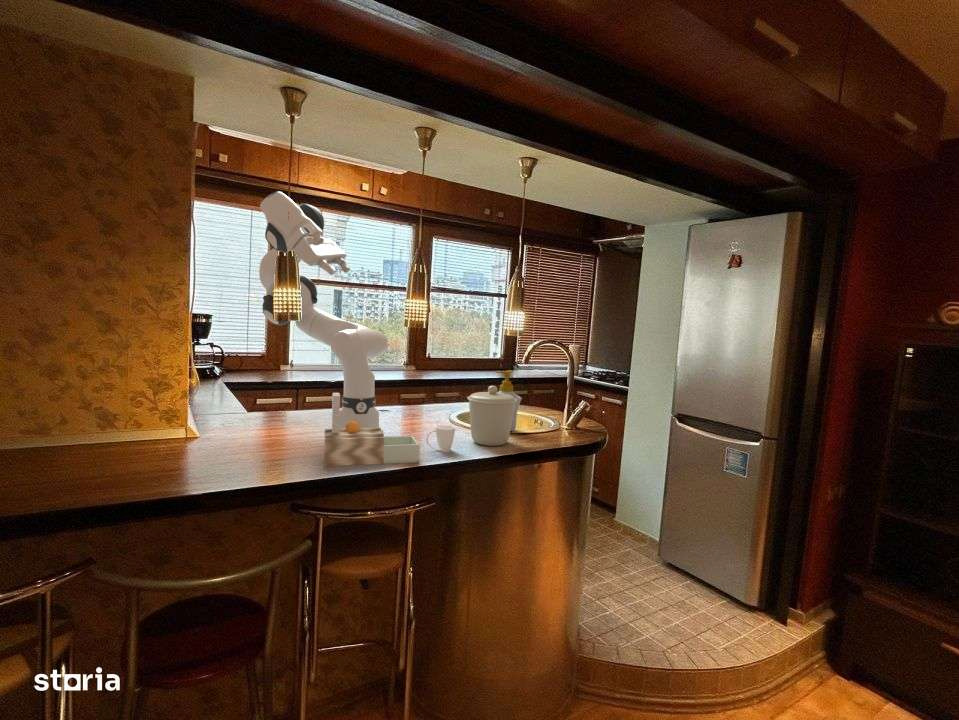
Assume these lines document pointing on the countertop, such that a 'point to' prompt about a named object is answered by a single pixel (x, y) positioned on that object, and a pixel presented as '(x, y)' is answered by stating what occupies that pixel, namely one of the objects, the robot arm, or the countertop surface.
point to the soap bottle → (508, 389)
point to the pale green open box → (400, 449)
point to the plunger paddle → (335, 413)
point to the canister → (491, 416)
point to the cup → (443, 437)
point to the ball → (352, 427)
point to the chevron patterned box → (354, 447)
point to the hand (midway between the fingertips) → (341, 272)
